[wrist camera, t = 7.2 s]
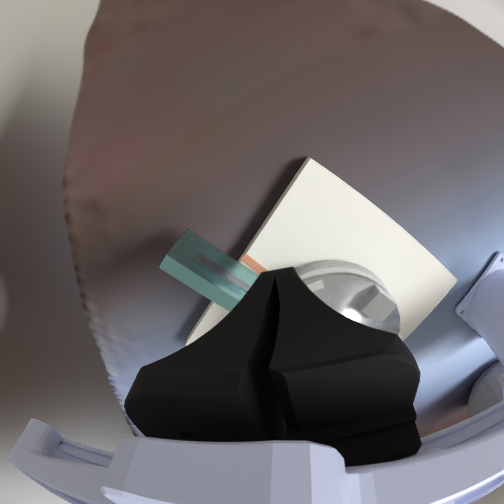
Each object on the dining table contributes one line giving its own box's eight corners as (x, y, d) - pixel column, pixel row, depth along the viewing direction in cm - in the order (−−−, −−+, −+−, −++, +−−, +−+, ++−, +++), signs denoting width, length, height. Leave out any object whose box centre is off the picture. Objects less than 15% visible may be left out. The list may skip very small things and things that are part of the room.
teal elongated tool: (413, 305, 21) (435, 340, 16) (328, 381, 25) (333, 419, 21) (227, 166, 18) (212, 178, 13) (154, 285, 22) (131, 320, 17)
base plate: (450, 272, 21) (458, 280, 20) (325, 395, 28) (327, 406, 27) (305, 155, 19) (308, 157, 17) (187, 334, 26) (183, 345, 24)
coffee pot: (485, 355, 26) (531, 435, 12) (525, 345, 25) (567, 407, 11) (423, 438, 34) (441, 504, 21) (466, 425, 34) (487, 482, 20)
